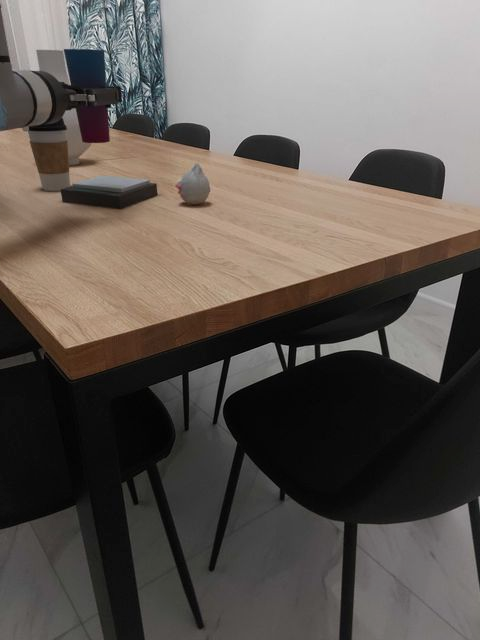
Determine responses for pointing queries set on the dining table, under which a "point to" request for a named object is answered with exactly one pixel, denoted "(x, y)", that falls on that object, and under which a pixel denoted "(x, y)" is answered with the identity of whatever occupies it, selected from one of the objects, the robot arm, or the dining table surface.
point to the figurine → (194, 186)
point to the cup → (89, 73)
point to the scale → (109, 191)
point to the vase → (56, 66)
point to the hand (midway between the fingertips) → (103, 93)
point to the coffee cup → (51, 154)
